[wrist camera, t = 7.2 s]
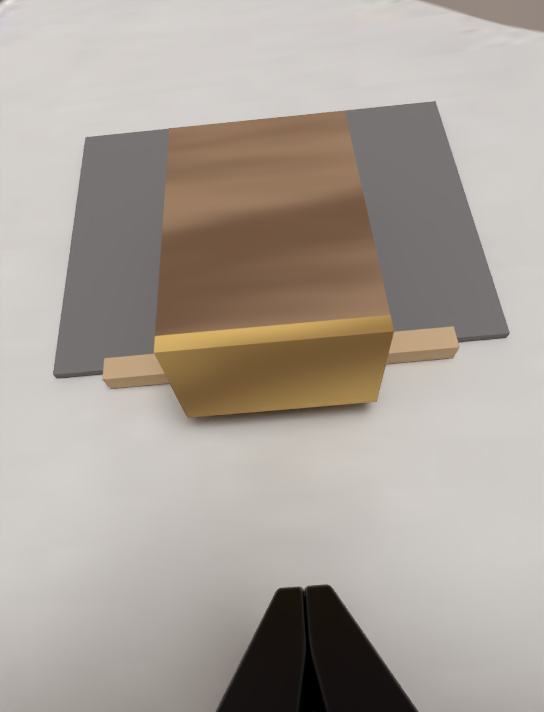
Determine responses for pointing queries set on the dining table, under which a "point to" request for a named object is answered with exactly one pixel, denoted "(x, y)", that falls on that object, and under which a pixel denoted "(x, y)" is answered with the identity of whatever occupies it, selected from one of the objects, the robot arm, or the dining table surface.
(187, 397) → the walnut block
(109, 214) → the mat
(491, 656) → the dining table surface
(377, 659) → the robot arm
